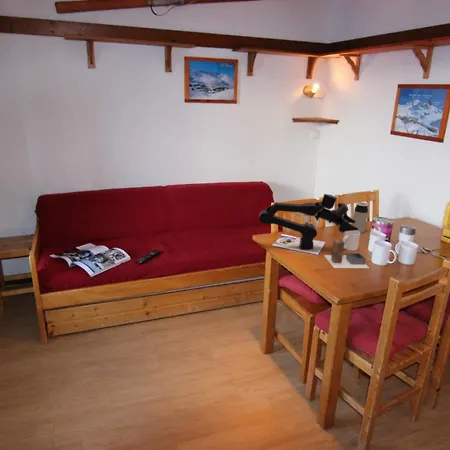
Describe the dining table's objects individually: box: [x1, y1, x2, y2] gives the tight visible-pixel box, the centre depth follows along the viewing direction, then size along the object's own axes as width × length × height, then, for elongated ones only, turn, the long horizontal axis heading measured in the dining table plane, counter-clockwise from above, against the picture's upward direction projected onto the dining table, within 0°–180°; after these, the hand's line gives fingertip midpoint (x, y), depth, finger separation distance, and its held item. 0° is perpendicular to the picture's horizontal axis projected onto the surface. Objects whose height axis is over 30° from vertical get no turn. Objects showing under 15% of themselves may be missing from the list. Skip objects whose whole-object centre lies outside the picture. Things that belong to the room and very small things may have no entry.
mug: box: [341, 230, 361, 252], centre depth 222 cm, size 12×8×10 cm
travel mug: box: [351, 201, 369, 234], centre depth 253 cm, size 8×8×18 cm
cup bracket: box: [345, 252, 367, 264], centre depth 206 cm, size 7×7×3 cm
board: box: [323, 254, 370, 269], centre depth 206 cm, size 18×16×1 cm
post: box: [331, 239, 345, 263], centre depth 204 cm, size 4×4×11 cm
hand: (356, 225), depth 215 cm, fingers open, 9 cm apart
